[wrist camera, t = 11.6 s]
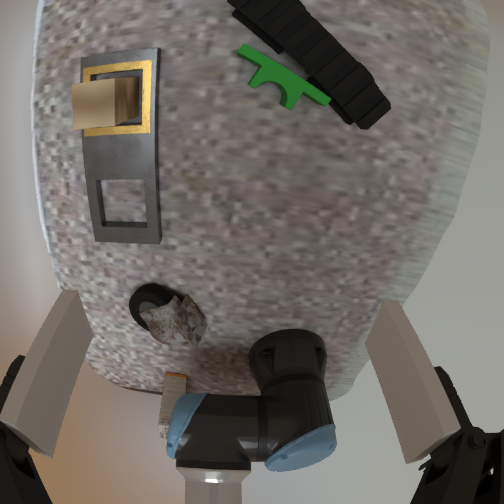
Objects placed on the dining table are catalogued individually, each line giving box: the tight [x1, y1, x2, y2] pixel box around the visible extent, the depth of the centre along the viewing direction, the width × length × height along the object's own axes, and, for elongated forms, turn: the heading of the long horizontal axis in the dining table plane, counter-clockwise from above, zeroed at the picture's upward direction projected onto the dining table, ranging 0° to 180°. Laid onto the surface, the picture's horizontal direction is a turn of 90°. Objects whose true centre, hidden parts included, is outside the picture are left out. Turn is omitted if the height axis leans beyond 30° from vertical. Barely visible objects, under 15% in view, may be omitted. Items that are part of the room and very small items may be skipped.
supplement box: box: [158, 372, 187, 439], centre depth 57 cm, size 8×5×13 cm, turn 167°
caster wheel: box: [129, 284, 207, 350], centre depth 47 cm, size 7×11×10 cm
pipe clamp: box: [238, 44, 331, 110], centre depth 30 cm, size 11×4×5 cm, turn 58°
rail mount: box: [227, 0, 391, 129], centre depth 28 cm, size 21×6×5 cm, turn 46°
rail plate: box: [80, 48, 162, 244], centre depth 34 cm, size 26×10×2 cm, turn 175°
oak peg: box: [72, 77, 139, 130], centre depth 28 cm, size 5×5×8 cm
